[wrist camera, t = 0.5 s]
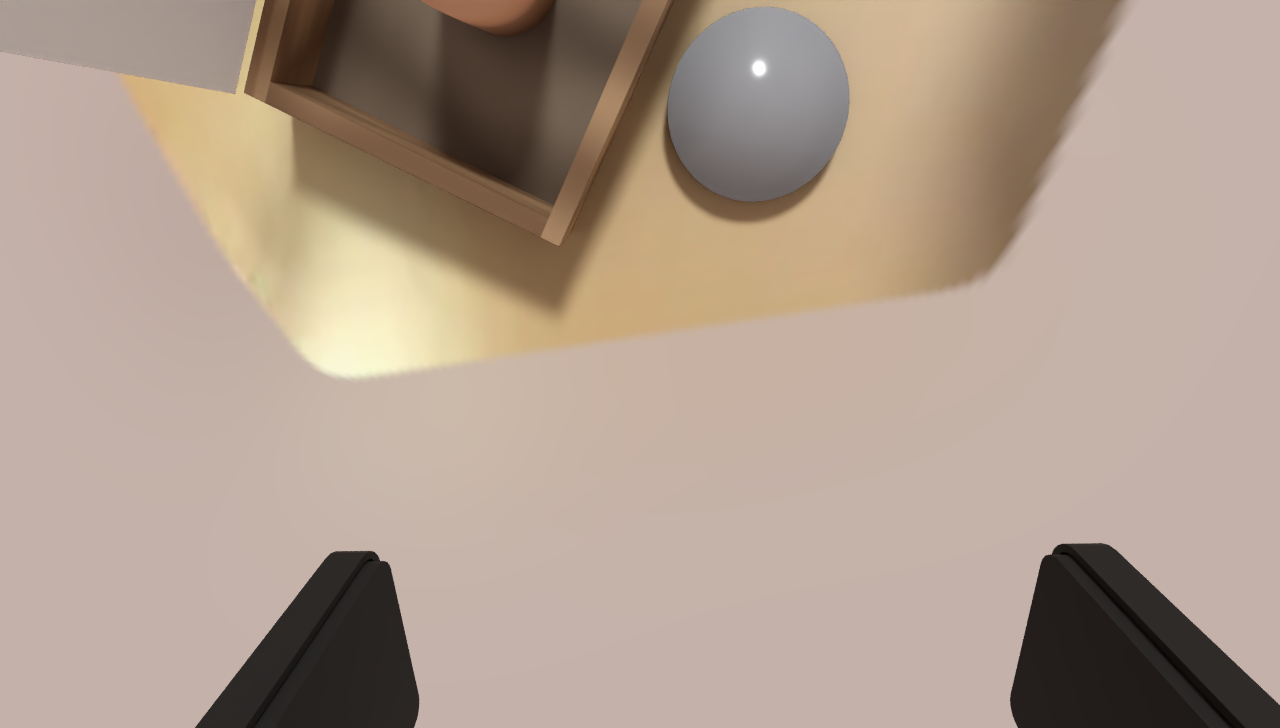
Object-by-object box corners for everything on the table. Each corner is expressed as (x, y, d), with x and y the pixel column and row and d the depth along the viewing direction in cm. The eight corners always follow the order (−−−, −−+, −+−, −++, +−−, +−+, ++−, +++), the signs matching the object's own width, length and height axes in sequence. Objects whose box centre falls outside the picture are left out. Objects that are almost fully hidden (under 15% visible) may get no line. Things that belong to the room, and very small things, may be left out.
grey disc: (720, -26, 30) (721, -31, 29) (879, 64, 31) (885, 63, 30) (638, 151, 33) (637, 152, 32) (785, 228, 34) (789, 231, 34)
